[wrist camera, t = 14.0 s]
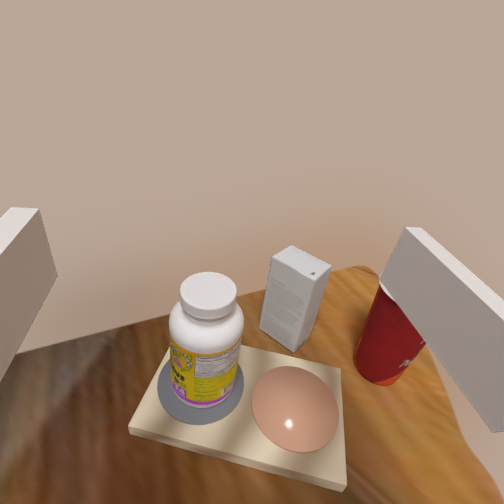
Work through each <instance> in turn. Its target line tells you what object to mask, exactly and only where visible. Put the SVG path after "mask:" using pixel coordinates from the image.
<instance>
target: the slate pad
mask: <svg viewBox="0 0 504 504" xmlns="http://www.w3.org/2000/svg"><path fill="white" fill-rule="evenodd" d="M243 389H244V376H243V372H242V370H241V367H240V365H239V364H238V366H237V373H236V379H235V384H234V387H233V389H232V391H231V393H230V394H229V396H228V397H227V398H226V399H225V400H224V401H222V402H221V403H219V404H217V405H215V406H212V407H209V408H195V407H191V406H188V405H186V404H185V403H183V402H182V401H181V400H180V399H179V398H178V397H177V396H176V394H175V393H174V390H173V388H172V383H171V367H170V359H169V360H168V361H167V362H166V364H165V365H164V366H163V368H162V370H161V372H160V374H159V378H158V383H157V391H158V397H159V400H160V403H161V405H162V406H163V408H164V409H165V411H166V412H167V413H168V414H169V415H170V416H172V417H173V418H175V419H176V420H178V421H180V422H183V423H186V424H191V425H206V424H211V423H214V422H217V421H219V420H221V419H223V418H224V417H226V416H227V415H228V414H230V413H231V412H232V411H233V410H234V409H235V407H236V406H237V404H238V403H239V401H240V399H241V397H242V393H243Z"/></svg>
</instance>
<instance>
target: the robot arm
mask: <svg viewBox="0 0 504 504" xmlns="http://www.w3.org/2000/svg"><path fill="white" fill-rule="evenodd" d="M56 278H57V272H56V269H55V265H54V261H53V258H52V254H51V251H50V247H49V243H48V240H47V236H46V232H45V228H44V225H43V221H42V218H41V214H40V210H39V209H36V208H16V207H11V208H10V209H9V210H8V211H7V212H6V213H5V214H4V215H3V216H2V217H1V218H0V382H1V380H2V378H3V377H4V375H5V373H6V371H7V369H8V367H9V365H10V364H11V362H12V360H13V358H14V356H15V354H16V352H17V351H18V349H19V347H20V345H21V343H22V341H23V339H24V338H25V336H26V334H27V332H28V330H29V328H30V326H31V324H32V323H33V321H34V319H35V317H36V315H37V313H38V311H39V310H40V308H41V306H42V304H43V302H44V300H45V299H46V297H47V295H48V293H49V291H50V289H51V287H52V285H53V284H54V282H55V280H56ZM379 280H380V281H381V283H382V284H383V285H384V287H385V288H386V289H387V291H388V292H389V293H390V295H391V296H392V297H393V299H394V300H395V302H396V303H397V304H398V306H399V307H400V308H401V310H402V311H403V312H404V314H405V315H406V316H407V318H408V319H409V321H410V322H411V323H412V325H413V326H414V327H415V329H416V330H417V331H418V333H419V334H420V335H421V337H422V338H423V339H424V341H425V342H426V344H427V345H428V346H429V348H430V349H431V350H432V352H433V353H434V354H435V356H436V357H437V358H438V360H439V361H440V362H441V364H442V365H443V367H444V368H445V369H446V371H447V372H448V373H449V375H450V376H451V377H452V379H453V380H454V381H455V383H456V384H457V385H458V387H459V388H460V390H461V391H462V392H463V393H464V395H465V396H466V398H467V399H468V400H469V402H470V403H471V404H472V406H473V407H474V409H475V410H476V411H477V412H478V414H479V415H480V417H481V418H482V419H483V421H484V422H485V423H486V425H487V426H488V427H489V429H490V430H491V431H492V433H496V432H504V300H502V299H501V298H500V297H499V296H498V295H497V294H496V293H495V292H493V291H492V290H491V289H490V288H489V287H488V286H487V285H485V284H484V283H483V282H482V281H481V280H480V279H479V278H478V277H476V276H475V275H474V274H473V273H472V272H471V271H470V270H468V269H467V268H466V267H465V266H464V265H463V264H462V263H460V262H459V261H458V260H457V259H456V258H455V257H454V256H453V255H451V254H450V253H449V252H448V251H447V250H446V249H445V248H444V247H442V246H441V245H440V244H439V243H438V242H436V240H434V239H433V238H432V237H431V236H430V235H429V234H428V233H426V232H425V231H424V230H423V229H422V228H415V227H404V230H403V231H402V234H401V236H400V237H399V240H398V242H397V244H396V246H395V248H394V250H393V252H392V254H391V256H390V258H389V260H388V262H387V264H386V266H385V268H384V270H383V272H382V274H381V276H380V278H379Z"/></svg>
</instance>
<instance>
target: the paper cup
mask: <svg viewBox="0 0 504 504" xmlns="http://www.w3.org/2000/svg"><path fill="white" fill-rule="evenodd" d="M381 274H382V273H381ZM381 274H380V276H381ZM380 276H379V278H380ZM379 282H380V285H379V288H378V290H377V293H376V296H375V299H374V301H373V304H372V307H371V309H370V312H369V315H368V317H367V320H366V323H365V326H364V328H363V331H362V334H361V336H360V339H359V342H358V345H357V348H356V351H355V354H354V364H355V367H356V369H357V370H358V372H359V373H360V374H361V375H362V376H363V377H364V378H365V379H367V380H368V381H370V382H372V383H374V384H377V385H382V386H387V385H391V384H393V383H394V382H395V381H396V380H397V379H398V378H399V377H400V376H401V375H402V373H403V372H404V371H405V370H406V368H407V367H408V366H409V365H410V363H411V362H412V361H413V359H414V358H415V357H416V356H417V354H418V353H419V352H420V350H421V349H422V348H423V347H424V345H425V344H426V342H425V341H424V339H423V338H422V337H421V335H420V334H419V333H418V331H417V330H416V329H415V327H414V326H413V325H412V323H411V322H410V321H409V319H408V318H407V316H406V315H405V314H404V312H403V311H402V310H401V308H400V307H399V306H398V304H397V303H396V302H395V300H394V299H393V297H392V296H391V295H390V293H389V292H388V291H387V289H386V288H385V287H384V285H383V284H382V283H381V281H380V280H379Z"/></svg>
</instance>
